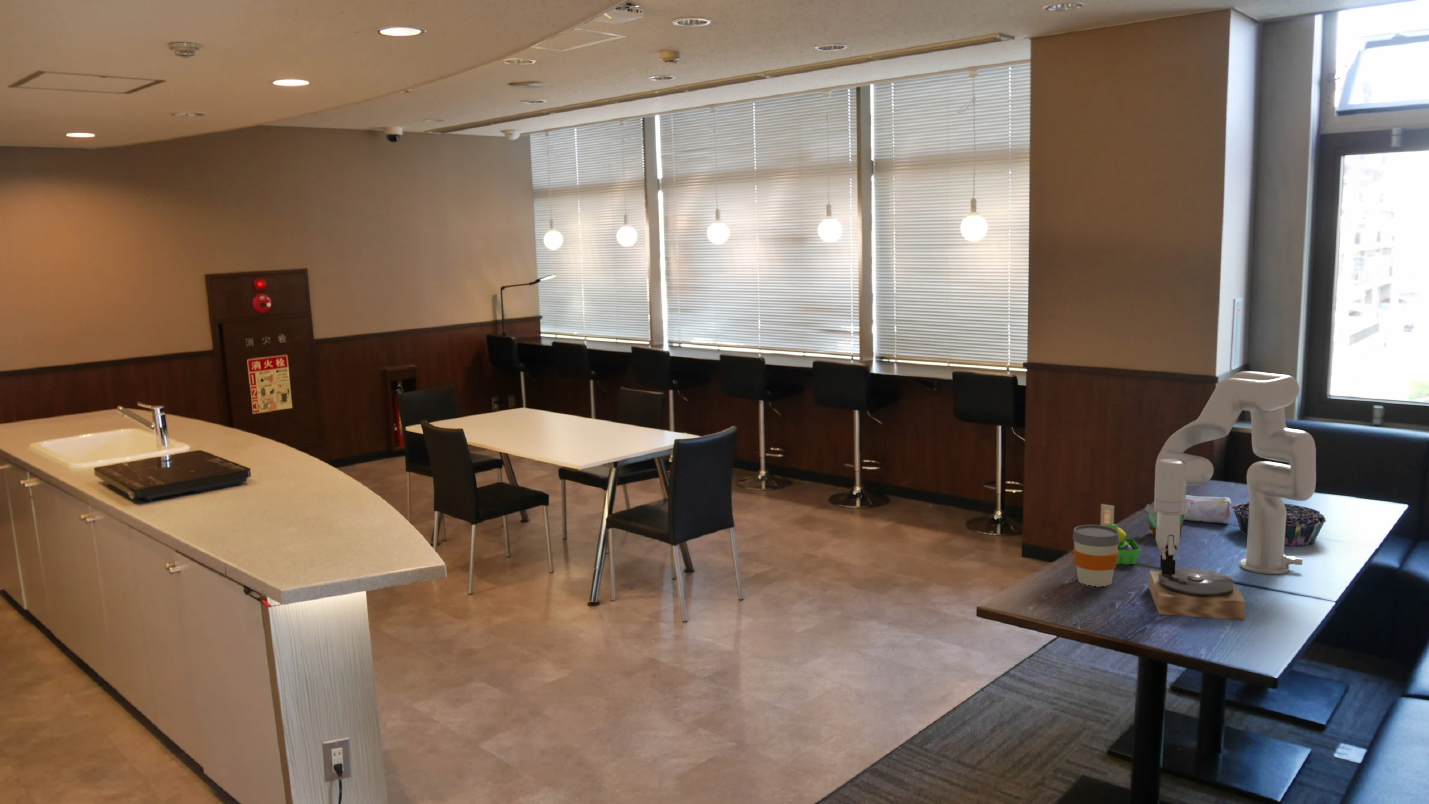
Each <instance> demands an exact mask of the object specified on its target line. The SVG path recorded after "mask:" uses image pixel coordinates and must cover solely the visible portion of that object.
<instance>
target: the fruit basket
mask: <svg viewBox="0 0 1429 804" xmlns="http://www.w3.org/2000/svg"><path fill="white" fill-rule="evenodd" d="M1107 527H1111V528H1114V529H1116V530H1118V531H1119V537H1120V543H1119V544H1118V548H1117V550H1118V558H1117V563H1116V565H1132V564H1136V562H1137V559H1138V555H1139V553H1140V552H1141V548H1140V547H1139V546H1138V544H1137V542H1136V540H1134V539H1133V538H1126V537H1127V533H1126V532H1125V530H1123V529H1122V528H1120V527H1119V526H1118V525H1117V524H1115V523H1111V524H1110V523H1109V524H1107Z"/></svg>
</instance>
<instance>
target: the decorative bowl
mask: <svg viewBox="0 0 1429 804" xmlns="http://www.w3.org/2000/svg"><path fill="white" fill-rule="evenodd" d="M1284 505H1285V508H1286V527H1285V543H1284V546H1286V545H1289V546H1288V547H1294V546H1295V545H1299V546H1298V547H1306V546H1308V545H1313V544H1314V543H1315V542H1316V539H1317V538H1318V536H1319V534H1320V532H1321V530H1322V528H1323V526H1324V524H1325V523H1326V522H1327V519H1326V518H1325V515H1323V514H1321V512H1320V510H1317V509H1313V508H1310V507H1306V506H1301V505H1298V504H1297V505H1295V504H1291V503H1284ZM1231 509H1232V510H1233V512H1234V515H1235V518H1236V520H1237V524H1238V528H1239V530H1240V531H1241V530H1242V531H1241V532H1242V534H1244V533H1245V534H1246V535H1247V534H1248V516H1249V502H1241V503H1237V504H1235V505H1231ZM1246 535H1245V536H1246Z"/></svg>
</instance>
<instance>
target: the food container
mask: <svg viewBox="0 0 1429 804" xmlns="http://www.w3.org/2000/svg"><path fill="white" fill-rule="evenodd" d="M1145 507H1146V508H1145V511H1146V512H1147V517H1148V520H1147V521H1148V531H1149V532H1148V533H1149V535H1150V536H1152V537H1154V538H1156V528H1157V514H1158V512H1156V511H1155V510H1154V506H1152V505H1149V504H1148V503H1147V504H1146V506H1145ZM1185 514H1187V510H1186V508H1185V513H1183V514H1180V538H1181V537H1182V531H1183V524H1184V521H1185V520H1184V515H1185Z"/></svg>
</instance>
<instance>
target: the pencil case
mask: <svg viewBox="0 0 1429 804" xmlns="http://www.w3.org/2000/svg"><path fill="white" fill-rule="evenodd" d="M1185 508H1186V510H1187V514H1185V515H1184V520H1183V521H1191V522H1192V521H1193V522H1200V521H1202V522H1204V523H1217V524H1225V525H1226V524H1227V523H1228V524H1229V523H1230V517H1231V514H1232V500H1231V498H1230V497H1226V496H1223V497H1222V496H1221V497H1220V496H1219V497H1218V496H1197V495H1190V494H1186V503H1185ZM1228 524H1227V525H1228Z"/></svg>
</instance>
